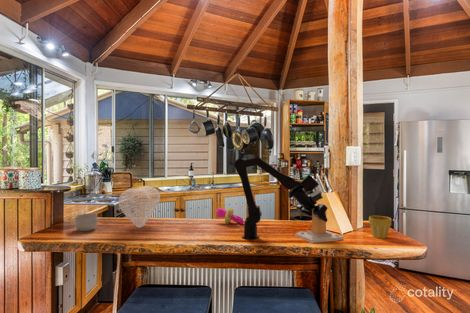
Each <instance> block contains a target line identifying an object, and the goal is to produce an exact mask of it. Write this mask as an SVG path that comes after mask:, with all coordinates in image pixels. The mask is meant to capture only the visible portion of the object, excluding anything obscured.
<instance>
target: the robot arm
mask: <svg viewBox="0 0 470 313" xmlns="http://www.w3.org/2000/svg"><path fill="white" fill-rule="evenodd" d="M255 166H256V167H259V168H260V169H262V170H263V171H264V172H266V173H268V174H269V175H271V177H273V178H275V179H276V180H277V181H278V182H279V183H280V184H281V185H282V186H283V187H284V188H285V189H287V190H289V191H288V192H287V197H288V198H289V199H292V198H294V199H295V200H296V201H297V205H296V208H295V209H297V211H298V212H300V213H302V214H305V215H306V216H309V217H311V218H312V210H313V214H314V215H315V217H317V218H319V219H321V220H323V221H325V222H326V223H327V222H328V218H327V213H326V214H325V211H326V212H327V210H328V206H327V205H325V204H323V203H318V201H320V200H321V199H323V195H322V192H321V191H318V190H315V189H316V188H317V187H318V186H319V185H320V184H319V183H318V181H317V180H316V179H315V178H313V176H312V175H311V174H308V175H306V176H305V178H304V179H302V180H301V181H300V180H297V179H296V180H295V179H294V178H293V177H292V176H289V175H287V174H285V173H283V172H280V171H279V170H278V169H276V168H275V167H273V166H272V165H270V164H269V162H266V161H265V160H263V158H261V157H260V156H257V157H254V158H249V159H244V158H237V159H236V160H235V161H234V168H235V170H236V173H237V174H238V176H239V178H240V181H241V186H242V188H243V193H244V196H245V201H246V204H247V214H248V216H247V217H246V218H245V219H244V223H243V224H244V225H243V228H244V229H243V236H241V238H242V239H245V240H250V241H253V240H256V239H258V238H260V236H259V235H258V225H257V224H258V223H260V221H261V217H262V212H263V211H261V206H260V204H259V205H257V203H256V200H255V198H254V193H253V190H252V186H251V182H250V178H249V174H248V173H249V172H248V171H249V169H248V168H249V167H255ZM314 190H315V191H314ZM317 203H318V204H317Z"/></svg>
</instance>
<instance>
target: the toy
mask: <svg viewBox="0 0 470 313" xmlns="http://www.w3.org/2000/svg"><path fill="white" fill-rule="evenodd" d="M215 215H216V217H217V218H221V219H222V218H223V219H224V225H229V223H231V221H233V222H235V223H237V224H240V225H242V224H244V222H245V219H244V218H242V217H241V216H239V215H235V214H234V208H233V207H231V208H228V210H226V209H224V208H223V207H218V208H217V209H216V210H215Z"/></svg>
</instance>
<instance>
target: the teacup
mask: <svg viewBox="0 0 470 313" xmlns="http://www.w3.org/2000/svg"><path fill="white" fill-rule="evenodd" d="M74 223H75V228H76V229H77V230H78V231H80V232H89V231H93V230H94V229H95V228H96V227H97V225H98V214H97V213H94V212H90V213H87V212H86V213H85V212H84V213H81V214H77V215H75V216H74Z"/></svg>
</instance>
